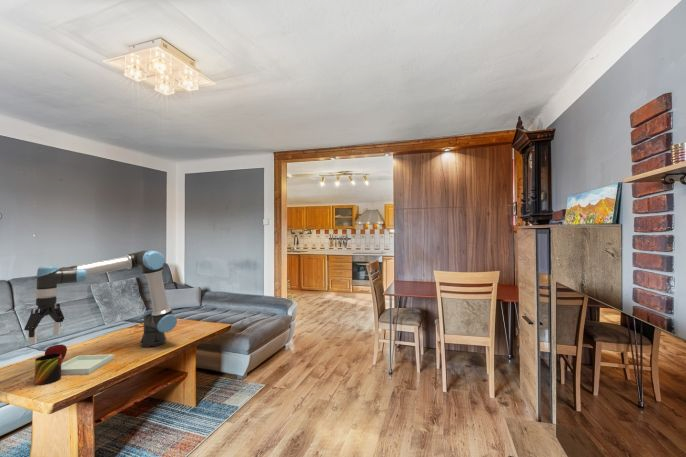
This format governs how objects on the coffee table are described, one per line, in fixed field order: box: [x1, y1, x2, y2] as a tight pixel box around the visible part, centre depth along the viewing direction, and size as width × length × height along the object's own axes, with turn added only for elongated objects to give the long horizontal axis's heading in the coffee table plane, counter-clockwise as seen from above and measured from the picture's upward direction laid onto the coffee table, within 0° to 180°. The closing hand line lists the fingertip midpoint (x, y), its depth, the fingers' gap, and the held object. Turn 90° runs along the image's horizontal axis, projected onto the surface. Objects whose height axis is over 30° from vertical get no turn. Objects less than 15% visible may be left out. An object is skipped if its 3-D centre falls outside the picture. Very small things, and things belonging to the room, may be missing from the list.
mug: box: [34, 353, 62, 387], centre depth 155 cm, size 10×14×12 cm
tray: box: [61, 354, 115, 376], centre depth 171 cm, size 20×20×3 cm
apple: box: [44, 344, 68, 362], centre depth 178 cm, size 10×10×10 cm
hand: (45, 339), depth 155 cm, fingers open, 13 cm apart
